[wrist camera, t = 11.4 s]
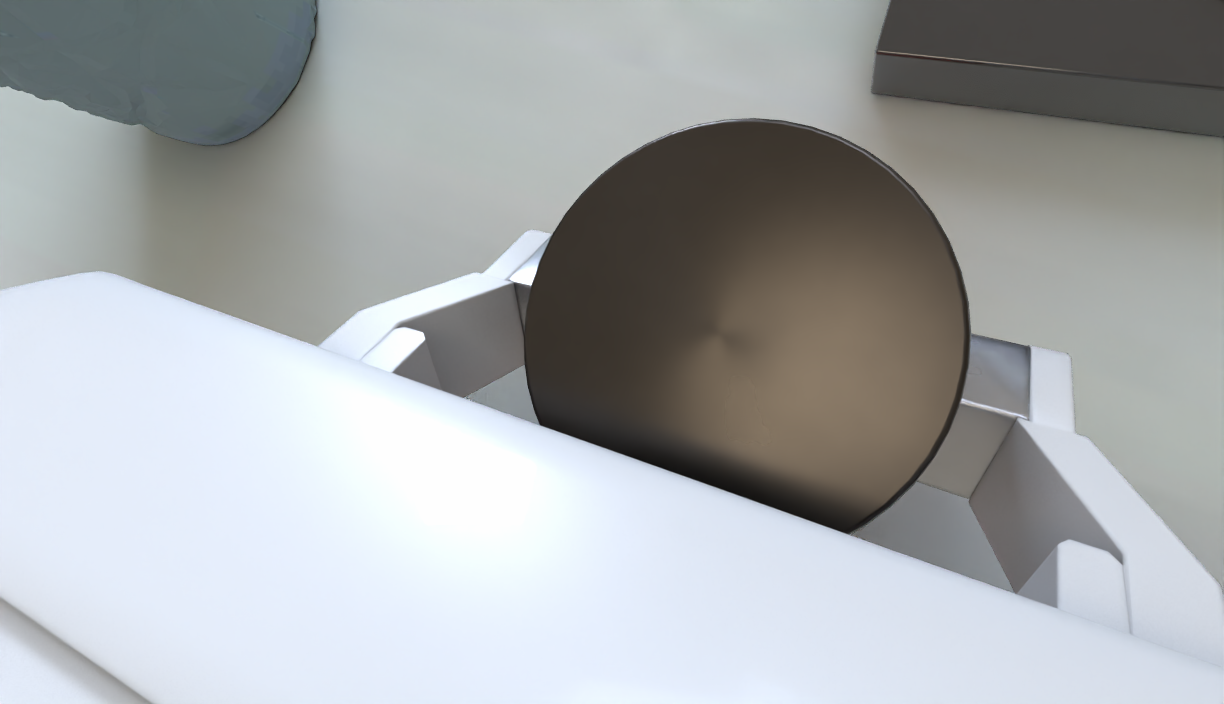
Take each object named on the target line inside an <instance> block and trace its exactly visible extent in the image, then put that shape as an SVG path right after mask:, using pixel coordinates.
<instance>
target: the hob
mask: <svg viewBox="0 0 1224 704" xmlns="http://www.w3.org/2000/svg"><path fill="white" fill-rule="evenodd" d="M871 92H872V93H877V94H885V95H893V96H901V97H909V98H917V99H925V100H933V101H941V102H949V103H957V104H965V105H973V106H981V107H989V108H997V109H1005V110H1013V111H1021V112H1029V113H1037V114H1045V115H1053V116H1061V117H1069V118H1077V119H1085V120H1093V121H1101V122H1109V123H1117V124H1125V125H1133V126H1141V127H1149V128H1157V129H1165V130H1173V131H1181V132H1189V133H1197V134H1205V135H1213V136H1221V137H1224V0H890V2H889V6H888V9H887V13H886V16H885V19H884V23H883V26H882V30H881V33H880V36H879V40H878V43H877V47H876V50H875V57H874V66H873V76H872V85H871Z"/></svg>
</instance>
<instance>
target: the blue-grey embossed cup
mask: <svg viewBox="0 0 1224 704" xmlns="http://www.w3.org/2000/svg"><path fill="white" fill-rule="evenodd" d="M315 1H316V0H0V87H6V86H9V87H11V88H12V89H15V90H18V91H24V92H26V93H30V94H33V95H34V96H36V97H37V98H40V99H43V100H57V101H60V102H63V103H65V104H66V105H68V106H69V107H71V108H73V109H75V110H81V111H87V112H88V113H90V114H92V115H95V116H100V117H103V118H106V119H109V120H113V121H117V122H120V123H124V124H128V125H136V124H142V125H144V126H146V127H147V128H148V129H150V130H151V131H153V132H155V133H157V134H160V135H163V136H167V137H170V138H173V139H177V140H180V141H184V142H189V143H194V144H200V145H220V144H226V143H229V142H233V141H236V140H238V139H240V138H243V137H245V136H247V135H248V134H250V133H251V132H253V131H254V130H256V129H257V128H259V127H260V126H261V125H262V124H264V123H265V122H266V121H267V120H268V119H269V118H270V117H271V116H272V115H273V114H274V113H275V112H276V111H277V109H278V108H279V107H280V106H281V105H282V104H283V102H284V101H285V99H286V98H287V97H288V95H289V94H290V92H291V91H292V89H293V88H294V87H295V85H296V84H297V82H298V80H299V77H300V75H301V72H302V70H303V67H304V64H305V62H306V59H307V57H308V54H309V52H310V45H311V40H312V39H313V38H314V37H315V23H314V17H315V14H316V12H317V10H316V6H315Z"/></svg>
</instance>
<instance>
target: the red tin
mask: <svg viewBox="0 0 1224 704" xmlns="http://www.w3.org/2000/svg"><path fill="white" fill-rule="evenodd" d="M970 344H971V326H970V313H969V302H968V297H967V293H966V289H965V284H964V280H963V276H962V271H961V269H960V266H959V264H958V261H957V259H956V256H955V253H954V251H953V248H952V246H951V243H950V241H949V239H948V237H947V236H946V234H945V232H944V231H943V229H942V227H941V225H940V224H939V222H938V220H937V218H936V217H935V215H934V213H933V212H932V211H931V210H930V208H929V207H928V206H927V205H926V203H925V202H924V201H923V199H922V198H921V197H920V196H919V194H918V193H917V192H916V191H915V189H914V188H913V187H912V186H910V185H909V184H908V183H907V182H906V181H905V180H904V179H903V178H902V177H901V176H900V175H899V174H898V173H897V172H896V171H895V170H894V169H892V168H891V167H890V166H888V165H887V164H886V163H884V162H883V161H881V160H880V159H879V158H877V157H876V156H874V155H873V154H871V153H870V152H869V151H867V150H865V149H863V148H861V147H860V146H858V145H856V144H854V143H852V142H850V141H848V140H846V139H844V138H842V137H840V136H837V135H834V134H832V133H829V132H826V131H823V130H820V129H817V128H815V127H812V126H807V125H802V124H797V123H793V122H788V121H782V120H769V119H756V118H750V119H731V120H721V121H716V122H710V123H704V124H699V125H695V126H692V127H688V128H685V129H682V130H679V131H676V132H672V133H670V134H667V135H665V136H663V137H661V138H658V139H656V140H654V141H652V142H649V143H647V144H645V145H643V146H642V147H640V148H638V149H637V150H635V151H634V152H632V153H630V154H629V155H627V156H625V157H624V158H622V159H621V160H619V161H618V162H617V163H615V164H614V165H613V166H612V167H610V168H609V169H608V170H606V171H605V172H604V173H603V174H601V175H600V176H599V177H598V178H597V179H596V180H595V181H594V182H593V183H592V184H591V185H590V186H589V187H588V188H587V189H586V190H585V191H584V192H583V193H582V194H581V195H580V196H579V198H578V199H577V200H576V201H575V203H574V204H573V205H572V206H571V208H570V209H569V210H568V211H567V213H566V214H565V215H564V217H563V219H562V220H561V222H560V223H559V225H558V226H557V228H556V230H555V231H554V233H553V234H552V236H551V238H550V240H549V242H548V244H547V246H546V248H545V251H544V253H543V255H542V257H541V259H540V262H539V264H538V267H537V270H536V273H535V276H534V279H533V282H532V285H531V290H530V295H529V299H528V304H527V308H526V317H525V327H524V362H525V369H526V377H527V384H528V389H529V393H530V396H531V400H532V404H533V408H534V411H535V414H536V416H537V419H538V421H539V424H540V425H541V426H543V427H546V428H549V429H552V430H555V431H558V432H560V433H563V434H566V435H569V436H572V437H575V438H577V439H580V440H583V441H586V442H589V443H592V444H594V445H597V446H600V447H603V448H606V449H608V450H611V451H614V452H617V453H620V454H623V455H625V456H628V457H631V458H634V459H637V460H640V461H642V462H645V463H648V464H651V465H654V466H657V467H659V468H662V469H665V470H668V471H671V472H674V473H676V474H679V475H682V476H685V477H688V478H690V479H693V480H696V481H699V482H702V483H705V484H707V485H710V486H713V487H716V488H719V489H722V490H724V491H727V492H730V493H733V494H736V495H738V496H741V497H744V498H747V499H750V500H752V501H755V502H758V503H761V504H764V505H767V506H769V507H772V508H775V509H778V510H781V511H783V512H786V513H789V514H792V515H795V516H797V517H800V518H803V519H806V520H809V521H811V522H814V523H817V524H820V525H823V526H826V527H828V528H831V529H834V530H837V531H840V532H842V533H845V534H848V535H849V534H851V533H853V532H855V531H856V530H858V529H860V528H862V527H864V526H866V525H867V524H868V523H870V522H871V521H872V520H874V519H875V518H877V517H878V516H879V515H881V514H882V513H883V512H885V511H886V510H887V509H889V508H890V507H891V506H892V505H893V504H894V503H895V502H897V501H898V500H899V499H900V498H901V497H902V496H903V495H904V494H905V493H906V492H907V491H908V490H909V489H910V488H911V487H912V486H913V485H914V484H915V483H916V481H917V480H918V479H919V477H920V476H921V475H922V473H923V472H924V471H925V470H926V468H927V467H928V466H929V464H930V463H931V462H932V460H933V459H934V458H935V456H936V454H937V452H938V451H939V449H940V447H941V445H942V443H943V442H944V440H945V438H946V436H947V434H948V433H949V431H950V429H951V426H952V424H953V421H954V418H955V416H956V413H957V410H958V408H959V405H960V403H961V400H962V396H963V392H964V387H965V383H966V378H967V374H968V369H969V359H970Z"/></svg>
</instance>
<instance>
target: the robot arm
mask: <svg viewBox="0 0 1224 704" xmlns="http://www.w3.org/2000/svg"><path fill="white" fill-rule="evenodd" d="M551 236H552V234H550V233H546V232H542V231H538V230H529V231H526V232H525V233H524V234H523V235H522V236H521V237H520V238H519V239H518V240H517V241H516V242H515V243H514V244H513V245H512V246H511V247H510V248H509V249H508V250H506V251H505V252H504V253H503V254H502V255H501V256H500V257H499V258H498V259H497V260H496V261H495V262H494V263H493V264H492V265H491V266H490V267H489V268H488V269H487V270H486V271H485V272H484V273H483V274H480V273H476V272H475V273H472V274H469V275H466V276H463V277H459V278H456V279H453V280H450V281H447V282H444V283H441V284H438V285H435V286H432V287H429V288H426V289H423V290H420V291H417V292H414V293H411V294H408V295H405V296H402V297H399V298H396V299H393V300H390V301H387V302H384V303H381V304H378V305H374V306H371V307H368V308H365V309H362V310H360V311H358V312H357V313H356V314H355V315H354V316H353V317H351V318H350V319H349V320H348V321H347V322H345V323H344V324H343V325H342V326H341V327H340V328H338V329H337V330H336V331H335V332H334V333H333V334H331V335H330V336H329V337H328V338H327V339H326V340H324V341H323V342H322V343H321V344H320V345H319V346H315V345H312V344H309V343H306V342H303V341H301V340H298V339H295V338H292V337H289V336H287V335H284V334H281V333H278V332H275V331H272V330H270V329H267V328H264V327H261V326H258V325H256V324H253V323H250V322H247V321H244V320H241V319H239V318H236V317H233V316H230V315H227V314H225V313H222V312H219V311H216V310H213V309H210V308H208V307H205V306H202V305H199V304H196V303H194V302H191V301H188V300H185V299H182V298H179V297H177V296H174V295H171V294H168V293H165V292H163V291H160V290H157V289H154V288H151V287H148V286H146V285H143V284H140V283H138V282H135V281H133V280H130V279H127V278H125V277H122V276H119V275H116V274H112V273H108V272H100V271H97V272H87V273H80V274H74V275H68V276H62V277H57V278H52V279H47V280H43V281H38V282H34V283H30V284H25V285H21V286H16V287H12V288H8V289H4V290H0V704H1224V596H1223V591H1222V586H1221V585H1220V584H1219V583H1218V581H1217V580H1216V579H1215V578H1214V577H1213V576H1212V575H1211V574H1210V573H1209V571H1208V570H1207V569H1206V568H1205V567H1204V566H1203V565H1202V564H1201V563H1200V561H1199V560H1198V559H1197V558H1196V557H1195V556H1194V555H1193V554H1192V552H1191V551H1190V550H1189V549H1188V548H1187V547H1186V546H1185V545H1184V544H1183V542H1182V541H1181V540H1180V539H1179V538H1178V537H1177V536H1176V535H1175V534H1174V532H1173V531H1172V530H1171V529H1170V528H1169V527H1168V526H1167V525H1166V524H1165V522H1164V521H1163V520H1162V519H1161V518H1160V517H1159V516H1158V515H1157V514H1156V512H1155V511H1154V510H1153V509H1152V508H1151V507H1150V506H1149V505H1148V504H1147V502H1146V501H1145V500H1144V499H1143V498H1142V497H1141V496H1140V495H1139V493H1138V492H1137V491H1136V490H1135V489H1134V488H1133V487H1132V486H1131V485H1130V483H1129V482H1128V481H1127V480H1126V479H1125V478H1124V477H1123V476H1122V475H1121V473H1120V472H1119V471H1118V470H1117V469H1116V468H1115V467H1114V466H1113V465H1112V463H1111V462H1110V461H1109V460H1108V459H1107V458H1106V457H1105V456H1104V455H1103V453H1102V452H1101V451H1100V450H1099V449H1098V448H1097V447H1096V446H1095V444H1094V443H1093V442H1092V441H1091V440H1090V439H1089V438H1088V437H1085V436H1082V435H1078V434H1076V425H1075V408H1074V391H1073V374H1072V358H1071V357H1070V356H1069V354H1068V353H1064V352H1059V351H1054V350H1049V349H1045V348H1040V347H1035V346H1030V345H1028V346H1024V345H1020V344H1016V343H1011V342H1007V341H1003V340H998V339H994V338H990V337H985V336H981V335H977V334H972V333H971V344H970V359H969V369H968V374H967V378H966V383H965V387H964V392H963V396H962V400H961V403H960V405H959V408H958V410H957V413H956V416H955V418H954V421H953V424H952V426H951V429H950V431H949V433H948V434H947V436H946V438H945V440H944V442H943V443H942V445H941V447H940V449H939V451H938V452H937V454H936V456H935V458H934V459H933V460H932V462H931V463H930V464H929V466H928V467H927V468H926V470H925V471H924V472H923V473H922V475H921V476H920V477H919V479H918V480H917V482H920V483H922V484H925V485H928V486H931V487H934V488H937V489H940V490H943V491H946V492H949V493H952V494H955V495H958V496H961V497H964V498H967V499H969V501H968V502H969V504H970V506H971V508H972V510H973V512H974V514H975V516H976V518H977V520H978V522H979V524H980V526H981V528H982V529H983V531H984V533H985V535H986V537H987V539H988V541H989V543H990V545H991V547H992V549H993V551H994V553H995V555H996V557H997V559H998V561H999V563H1000V565H1001V567H1002V568H1003V570H1004V572H1005V574H1006V576H1007V578H1008V580H1009V582H1010V584H1011V586H1012V588H1013V590H1014V592H1015V593H1012V592H1009V591H1007V590H1004V589H1001V588H998V587H995V586H992V585H989V584H987V583H984V582H981V581H978V580H975V579H972V578H970V577H967V576H964V575H961V574H958V573H955V572H953V571H950V570H947V569H944V568H941V567H938V566H936V565H933V564H930V563H927V562H924V561H921V560H919V559H916V558H913V557H910V556H907V555H904V554H902V553H899V552H896V551H893V550H890V549H887V548H885V547H882V546H879V545H876V544H873V543H871V542H868V541H865V540H862V539H859V538H856V537H854V536H851V535H848V534H845V533H842V532H840V531H837V530H834V529H831V528H828V527H826V526H823V525H820V524H817V523H814V522H811V521H809V520H806V519H803V518H800V517H797V516H795V515H792V514H789V513H786V512H783V511H781V510H778V509H775V508H772V507H769V506H767V505H764V504H761V503H758V502H755V501H752V500H750V499H747V498H744V497H741V496H738V495H736V494H733V493H730V492H727V491H724V490H722V489H719V488H716V487H713V486H710V485H707V484H705V483H702V482H699V481H696V480H693V479H690V478H688V477H685V476H682V475H679V474H676V473H674V472H671V471H668V470H665V469H662V468H659V467H657V466H654V465H651V464H648V463H645V462H642V461H640V460H637V459H634V458H631V457H628V456H625V455H623V454H620V453H617V452H614V451H611V450H608V449H606V448H603V447H600V446H597V445H594V444H592V443H589V442H586V441H583V440H580V439H577V438H575V437H572V436H569V435H566V434H563V433H560V432H558V431H555V430H552V429H549V428H546V427H543V426H541V425H538V424H535V423H532V422H529V421H526V420H524V419H521V418H518V417H515V416H512V415H510V414H507V413H504V412H501V411H498V410H495V409H493V408H490V407H487V406H484V405H481V404H478V403H476V402H473V401H470V400H467V399H464V397H466V396H467V395H469V394H471V393H473V392H475V391H477V390H479V389H480V388H482V387H484V386H486V385H488V384H490V383H491V382H493V381H495V380H497V379H499V378H501V377H503V376H504V375H506V374H508V373H510V372H512V371H514V370H516V369H517V368H519V367H521V366H523V365H525V362H524V327H525V317H526V308H527V304H528V299H529V295H530V290H531V285H532V282H533V279H534V276H535V273H536V270H537V267H538V264H539V262H540V259H541V257H542V255H543V253H544V251H545V248H546V246H547V244H548V242H549V240H550V238H551Z"/></svg>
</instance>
